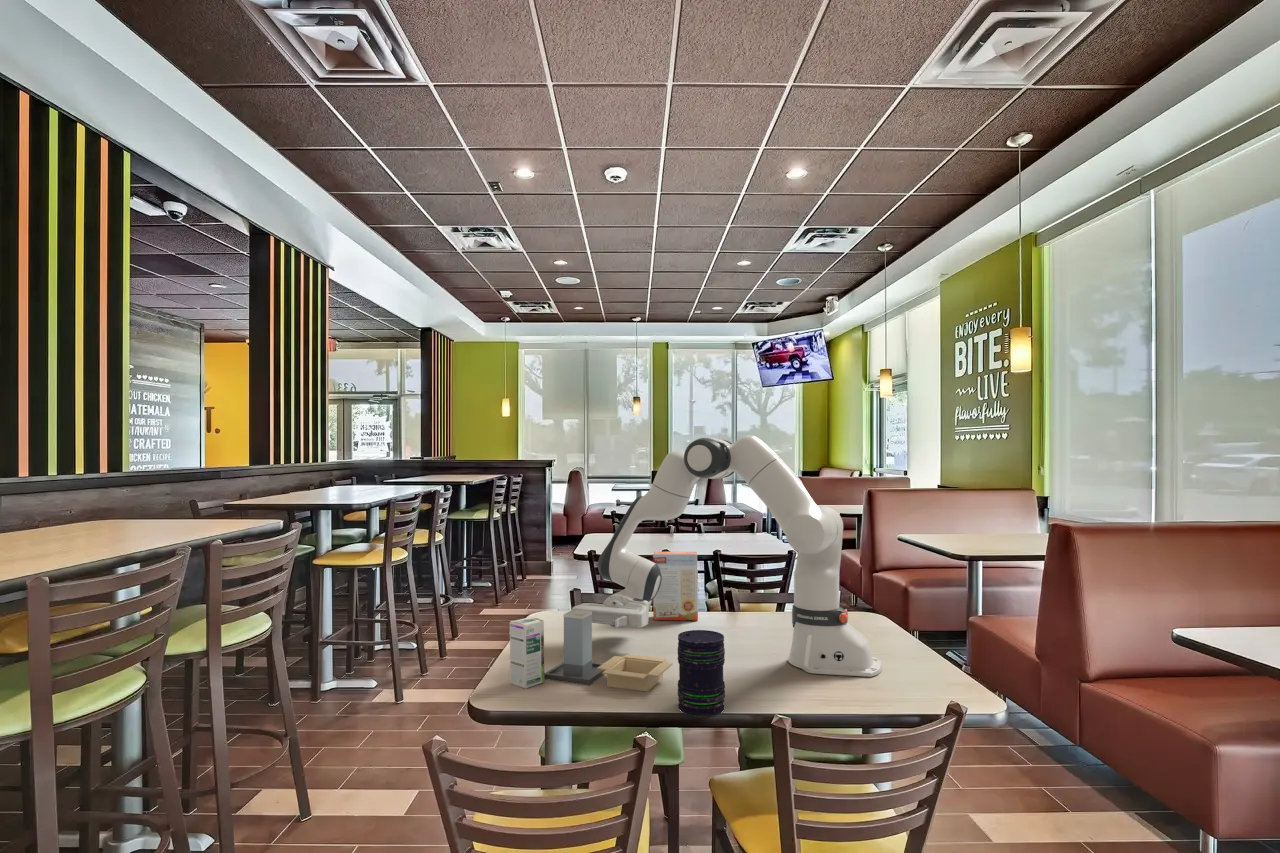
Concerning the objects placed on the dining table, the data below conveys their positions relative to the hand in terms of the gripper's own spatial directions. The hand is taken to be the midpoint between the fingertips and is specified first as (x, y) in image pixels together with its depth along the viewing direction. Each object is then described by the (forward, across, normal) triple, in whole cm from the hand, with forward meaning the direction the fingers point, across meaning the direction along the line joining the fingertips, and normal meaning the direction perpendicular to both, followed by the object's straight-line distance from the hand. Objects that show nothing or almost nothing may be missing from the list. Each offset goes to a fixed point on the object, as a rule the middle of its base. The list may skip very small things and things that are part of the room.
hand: (597, 621), depth 181 cm
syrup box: (+21, -8, +10) cm, 24 cm away
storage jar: (+21, +34, +10) cm, 41 cm away
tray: (+11, 0, +10) cm, 15 cm away
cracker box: (-49, +4, +10) cm, 50 cm away
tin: (+11, 0, +9) cm, 14 cm away
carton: (+11, +15, +10) cm, 21 cm away
